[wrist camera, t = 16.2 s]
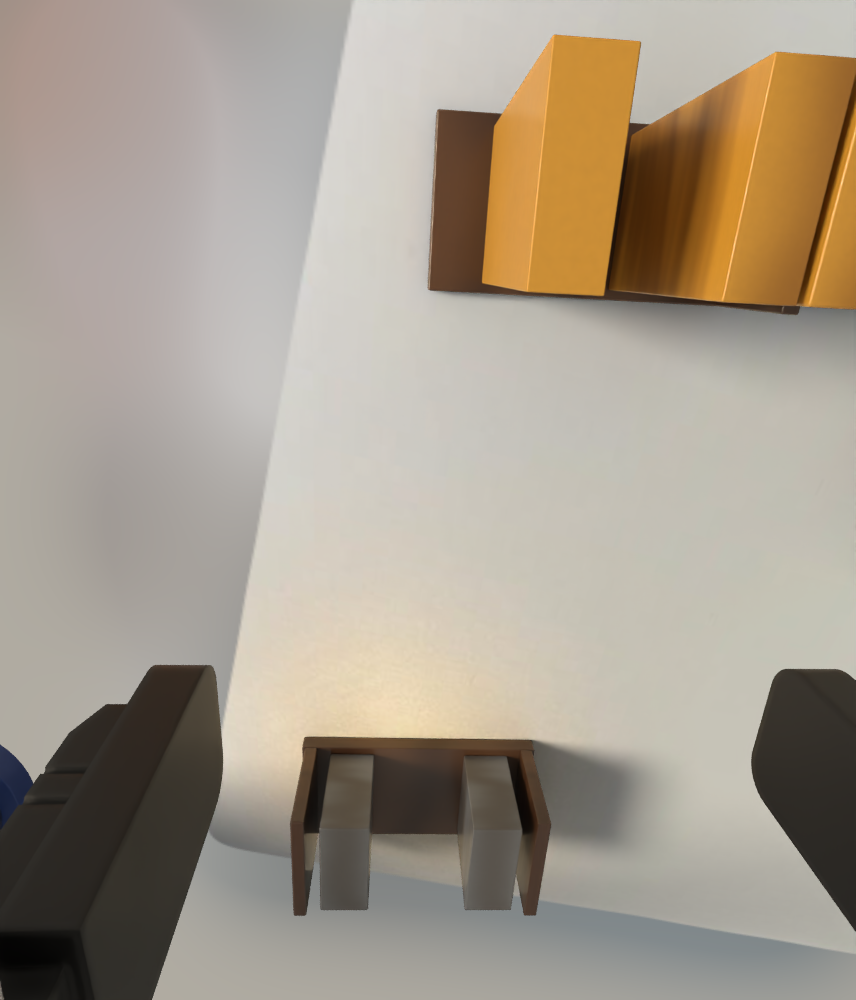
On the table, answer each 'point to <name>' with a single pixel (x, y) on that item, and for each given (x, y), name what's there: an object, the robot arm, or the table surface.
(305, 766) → the brown book rack
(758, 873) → the table surface
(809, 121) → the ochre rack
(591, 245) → the ochre book
